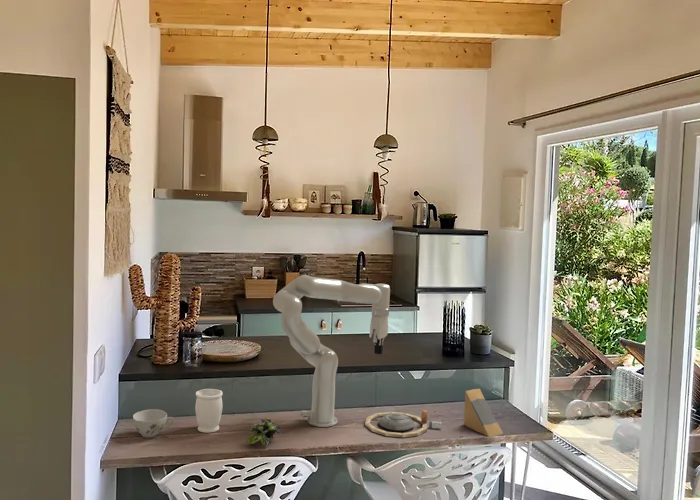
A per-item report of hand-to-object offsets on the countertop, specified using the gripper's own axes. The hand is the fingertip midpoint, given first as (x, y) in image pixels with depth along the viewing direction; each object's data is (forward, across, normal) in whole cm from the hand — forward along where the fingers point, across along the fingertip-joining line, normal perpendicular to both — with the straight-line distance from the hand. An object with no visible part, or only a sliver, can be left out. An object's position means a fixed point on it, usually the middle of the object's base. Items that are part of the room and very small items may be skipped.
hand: (378, 353), depth 264 cm
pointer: (+27, +2, +29) cm, 39 cm away
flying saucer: (+28, +8, +13) cm, 32 cm away
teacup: (+27, +69, -64) cm, 97 cm away
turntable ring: (+27, +8, +13) cm, 31 cm away
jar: (+27, +53, -50) cm, 77 cm away
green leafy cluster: (+27, +54, -22) cm, 64 cm away
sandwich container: (+28, -8, +46) cm, 54 cm away
